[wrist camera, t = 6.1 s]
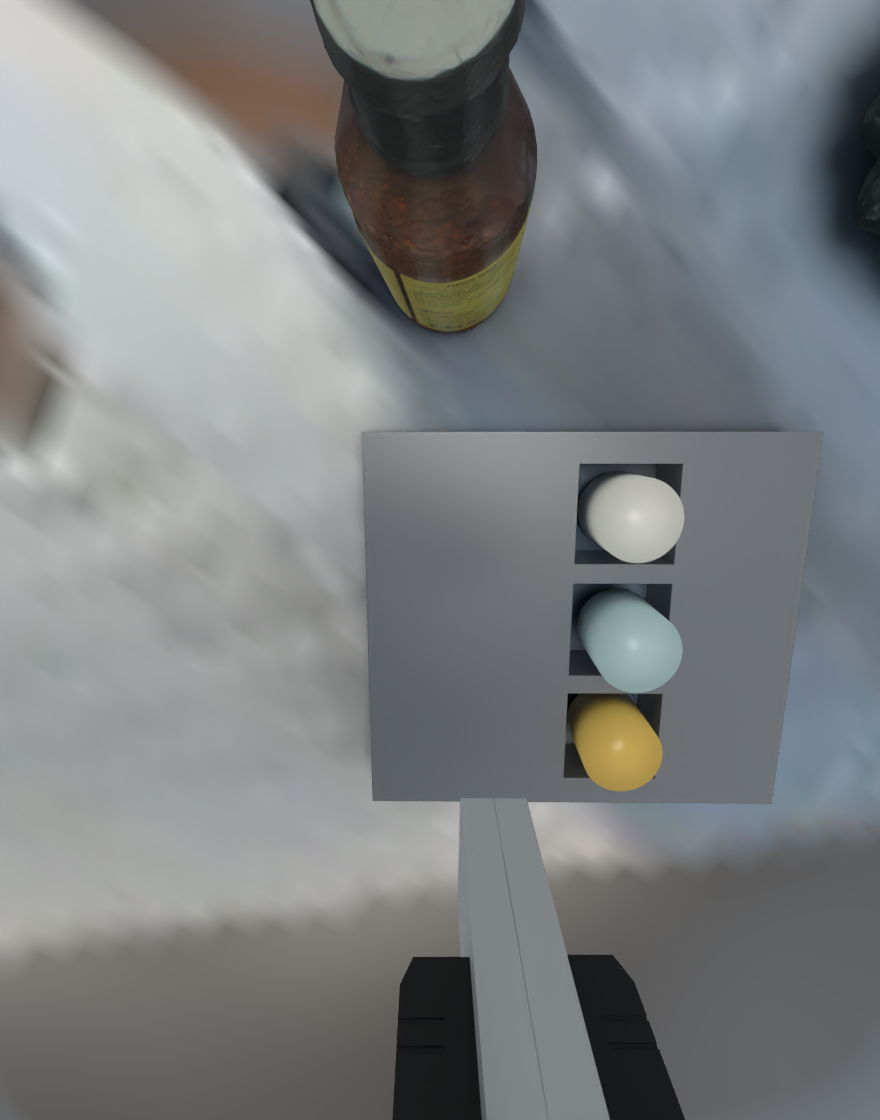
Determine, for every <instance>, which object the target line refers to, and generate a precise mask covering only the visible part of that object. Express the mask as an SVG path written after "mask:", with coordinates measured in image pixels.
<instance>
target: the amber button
mask: <svg viewBox="0 0 880 1120" xmlns="http://www.w3.org/2000/svg"><path fill="white" fill-rule="evenodd" d="M567 724H568V728H569V731H570V733H571V736H572V738H573V741H574V743H575V746H576V748H577V751H578V753H579V755H580V758H581V760H582V763H583V765H584V768H585V770H586V772H587V774H588V775H589V777H590V778H591V779H592V780H593V781H594V782H595V783H596V784H597V785H599V786H601V787H603V788H605V789H608V790H612V791H629V790H633V789H636V788H639V787H641V786H643V785H644V784H646V783H647V782H649V781H650V780H651V779H652V778H653V777H654V775H655V774H656V773H657V771H658V769H659V767H660V765H661V762H662V756H663V751H662V745H661V742H660V740H659V738H658V736H657V735H656V733H655V732H654V730H653V729H652V728H651V726H650V725H649V723H648V722H647V720H646V719H645V717H644V716H643V715H642V713H641V712H640V710H639V709H638V707H637V706H636V704H635V703H634V702H633V700H632V699H631V697H630V696H629V695H628V694H612V693H580V694H579V695H578V696H577V697H576V698H575V699H574V700H573V702H572V703H571V705H570V707H569V710H568V714H567Z"/></svg>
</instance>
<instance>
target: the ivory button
mask: <svg viewBox="0 0 880 1120" xmlns="http://www.w3.org/2000/svg"><path fill="white" fill-rule="evenodd" d="M578 519H579V522H580V525H581V527H582V529H583V531H584V532H585V534H586V535H587V536H588V537H589V538H590V539H592V540H593V541H594V542H596V543H597V544H598V545H600V546H601V547H602V548H604V549H605V550H606V551H608V552H609V553H610V554H612V555H613V556H615V557H616V558H618V559H620V560H623V561H626V562H630V563H645V562H649V561H653V560H655V559H657V558H659V557H661V556H663V555H664V554H666V553H667V552H668V551H669V550H670V549H671V548H672V547H673V546H674V545H675V543H676V542H677V540H678V539H679V537H680V535H681V532H682V529H683V525H684V509H683V505H682V502H681V500H680V498H679V496H678V494H677V493H676V492H675V491H674V490H673V489H672V488H671V487H670V486H669V485H668V484H666V483H665V482H663V481H661V480H658V479H655V478H650V477H646V476H641V475H637V474H632V473H628V472H622V471H614V472H609V473H605V474H603V475H601V476H599V477H597V478H595V479H594V480H593V481H592V482H590V484H589V485H588V486H587V487H586V488H585V490H584V491H583V493H582V495H581V497H580V500H579V504H578Z"/></svg>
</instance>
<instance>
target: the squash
mask: <svg viewBox="0 0 880 1120" xmlns="http://www.w3.org/2000/svg"><path fill="white" fill-rule="evenodd" d="M861 135H862V137H863V140H864V142H865V145H866V147H867V149H868V151H869V152H870V153H871V154H872V155H873V156H874V157H875V158H876V159H877V162H876V164H875V165H874V166H873V168H872V169H871V170H870V172H869V173H868V175H867V177H866V179H865V181H864V183H863V186H862V188H861V190H860V193H859V195H858V198H857V200H856V221H857V224H858V225H859V226H860V227H861V228H862V229H863V230H865V231H867V232H869V233H872V234H874V235H877V236H879V237H880V93H879V94H878V95H877V96H876V98H875V99H874V100H873V101H872V103H871V104H870V106H869V107H868V109H867V111H866V113H865V116H864V120H863V124H862V128H861Z"/></svg>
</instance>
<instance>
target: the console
mask: <svg viewBox="0 0 880 1120" xmlns="http://www.w3.org/2000/svg"><path fill="white" fill-rule="evenodd" d="M822 439H823V432H362V447H363V481H364V516H365V550H366V585H367V620H368V654H369V689H370V724H371V758H372V793H373V801H460V798H526V799H527V802H612V803H737V804H772V797H773V790H774V783H775V775H776V768H777V761H778V754H779V747H780V740H781V732H782V725H783V718H784V711H785V704H786V697H787V689H788V682H789V675H790V668H791V661H792V654H793V646H794V639H795V632H796V625H797V618H798V611H799V603H800V596H801V589H802V582H803V575H804V568H805V560H806V553H807V546H808V539H809V532H810V525H811V517H812V510H813V503H814V496H815V489H816V482H817V474H818V467H819V460H820V453H821V446H822ZM579 464H657V474H656V479H658V480H661V481H663V482H665V483H666V484H668V485H669V486H670V487H671V488H672V489H673V490H674V491H675V492H676V493H677V494H678V496H679V498H680V500H681V502H682V505H683V509H684V525H683V529H682V532H681V535H680V537H679V539H678V540H677V542H676V543H675V545H674V546H673V547H672V548H671V549H670V550H669V551H668V552H667V553H666V554H664V555H663V556H661V557H659V558H657V559H655V560H653V561H649V562H645V563H630V562H626V561H623V560H620V559H618V558H616V557H615V556H613V555H612V554H610V553H609V552H608V551H606V550H575V541H576V521H577V502H578V482H579ZM573 584H648V586H647V599H646V602H647V603H648V604H650V605H651V606H652V607H653V608H654V609H656V610H657V611H658V612H659V613H660V614H661V615H663V616H664V617H665V618H666V619H667V620H668V621H670V622H671V623H672V624H673V625H674V627H675V628H676V629H677V631H678V633H679V635H680V637H681V641H682V647H683V652H682V659H681V662H680V665H679V667H678V669H677V671H676V672H675V674H674V675H673V676H672V677H671V678H670V679H669V680H668V681H667V682H666V683H665V684H663V685H662V686H660V687H658V688H656V689H654V690H651V691H648V692H643V693H629V692H624V691H621V690H619V689H617V688H615V687H613V686H612V685H610V684H609V683H608V682H607V681H606V680H605V679H604V678H603V677H602V675H601V673H600V672H599V670H598V669H597V667H596V666H595V664H594V662H593V661H592V659H591V658H590V656H589V655H588V653H587V651H570V639H571V619H572V600H573ZM568 693H612V694H639V699H638V709H639V710H640V712H641V713H642V715H643V716H644V717H645V719H646V720H647V722H648V723H649V725H650V726H651V728H652V729H653V730H654V732H655V733H656V735H657V736H658V738H659V740H660V742H661V745H662V751H663V756H662V762H661V765H660V767H659V769H658V771H657V773H656V774H655V775H654V777H653V778H652V779H651V780H650V781H649V782H647V783H646V784H644V785H643V786H641V787H639V788H636V789H633V790H629V791H612V790H608V789H605V788H603V787H601V786H599V785H597V784H596V783H595V782H594V781H593V780H592V779H591V778H590V777H589V775H588V774H587V772H586V770H585V768H584V765H583V763H582V760H581V758H580V755H579V753H578V751H577V748H576V746H575V744H565V737H566V717H567V698H568Z"/></svg>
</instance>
